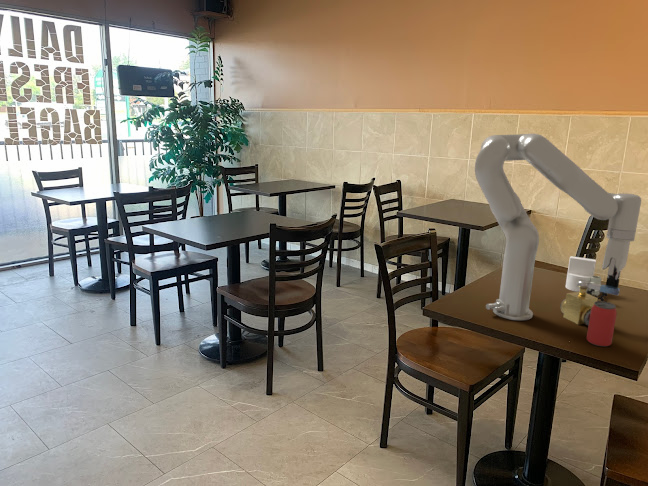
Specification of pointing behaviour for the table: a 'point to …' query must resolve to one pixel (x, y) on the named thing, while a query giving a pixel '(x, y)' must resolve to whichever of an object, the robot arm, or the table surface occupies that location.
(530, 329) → the table surface
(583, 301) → the pipe valve
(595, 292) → the valve
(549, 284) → the table surface
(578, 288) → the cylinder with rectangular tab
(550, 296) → the table surface
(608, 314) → the beer can
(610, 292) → the lever
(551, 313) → the table surface
